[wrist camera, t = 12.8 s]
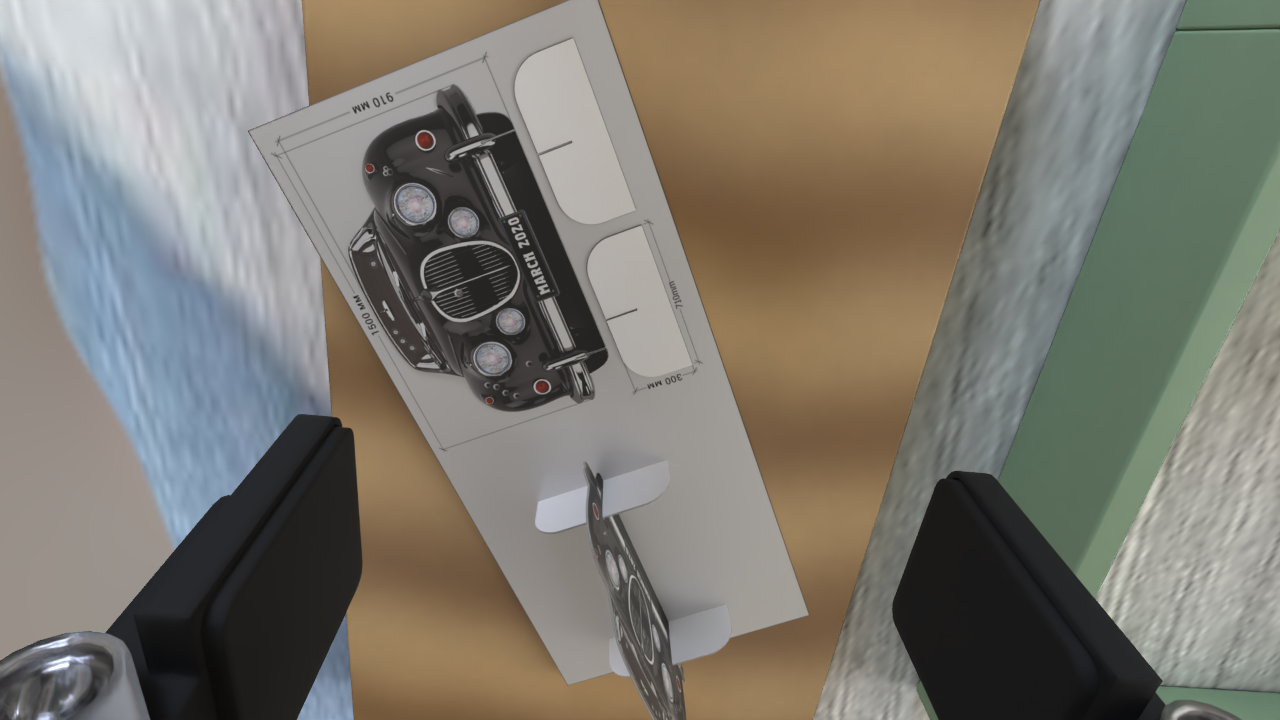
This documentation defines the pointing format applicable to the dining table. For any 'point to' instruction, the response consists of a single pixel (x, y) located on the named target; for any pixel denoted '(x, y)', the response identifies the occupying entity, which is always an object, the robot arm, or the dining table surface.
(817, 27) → the board
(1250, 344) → the dining table surface
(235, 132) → the dining table surface
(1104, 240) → the bin
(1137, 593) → the dining table surface
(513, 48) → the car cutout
